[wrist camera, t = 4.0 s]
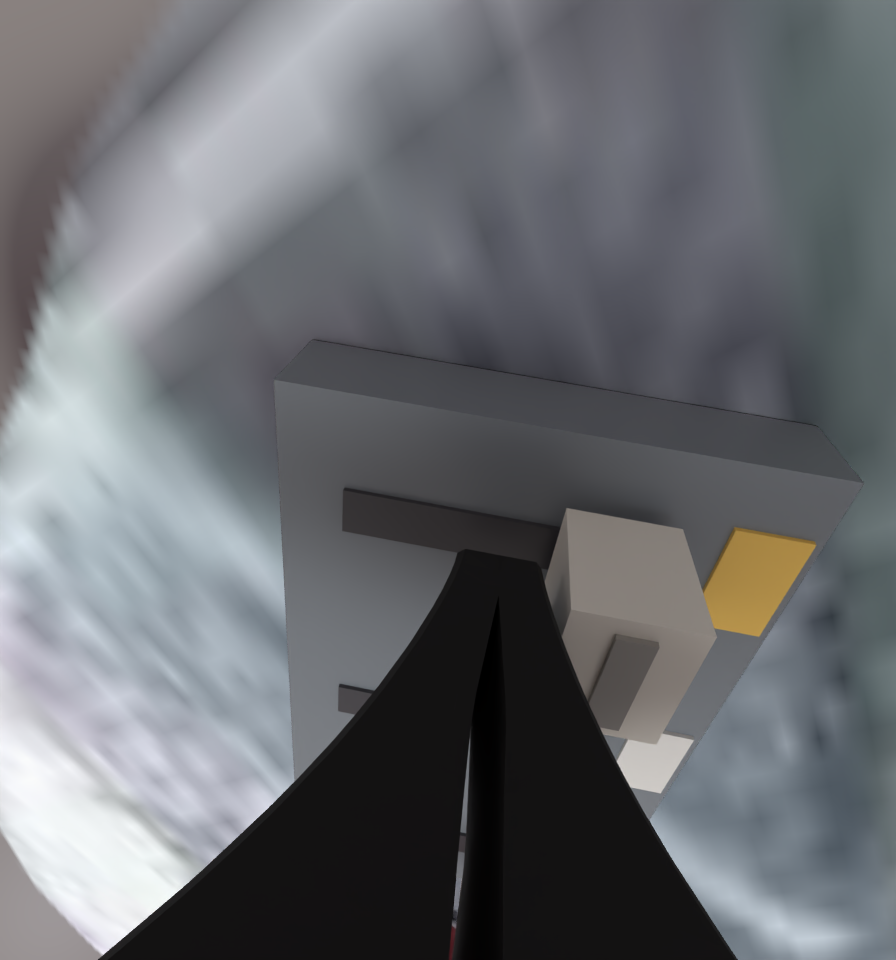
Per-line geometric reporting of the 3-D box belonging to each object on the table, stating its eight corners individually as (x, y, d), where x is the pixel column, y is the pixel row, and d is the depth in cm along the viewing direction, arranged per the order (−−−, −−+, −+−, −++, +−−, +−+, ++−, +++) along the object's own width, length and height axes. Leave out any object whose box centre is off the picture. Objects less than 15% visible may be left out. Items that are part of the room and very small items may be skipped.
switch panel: (817, 426, 11) (866, 486, 9) (590, 842, 21) (593, 910, 19) (312, 339, 12) (271, 381, 10) (317, 784, 21) (296, 845, 19)
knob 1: (683, 529, 10) (718, 642, 8) (636, 631, 11) (656, 750, 9) (566, 507, 10) (571, 614, 8) (535, 612, 11) (533, 725, 9)
